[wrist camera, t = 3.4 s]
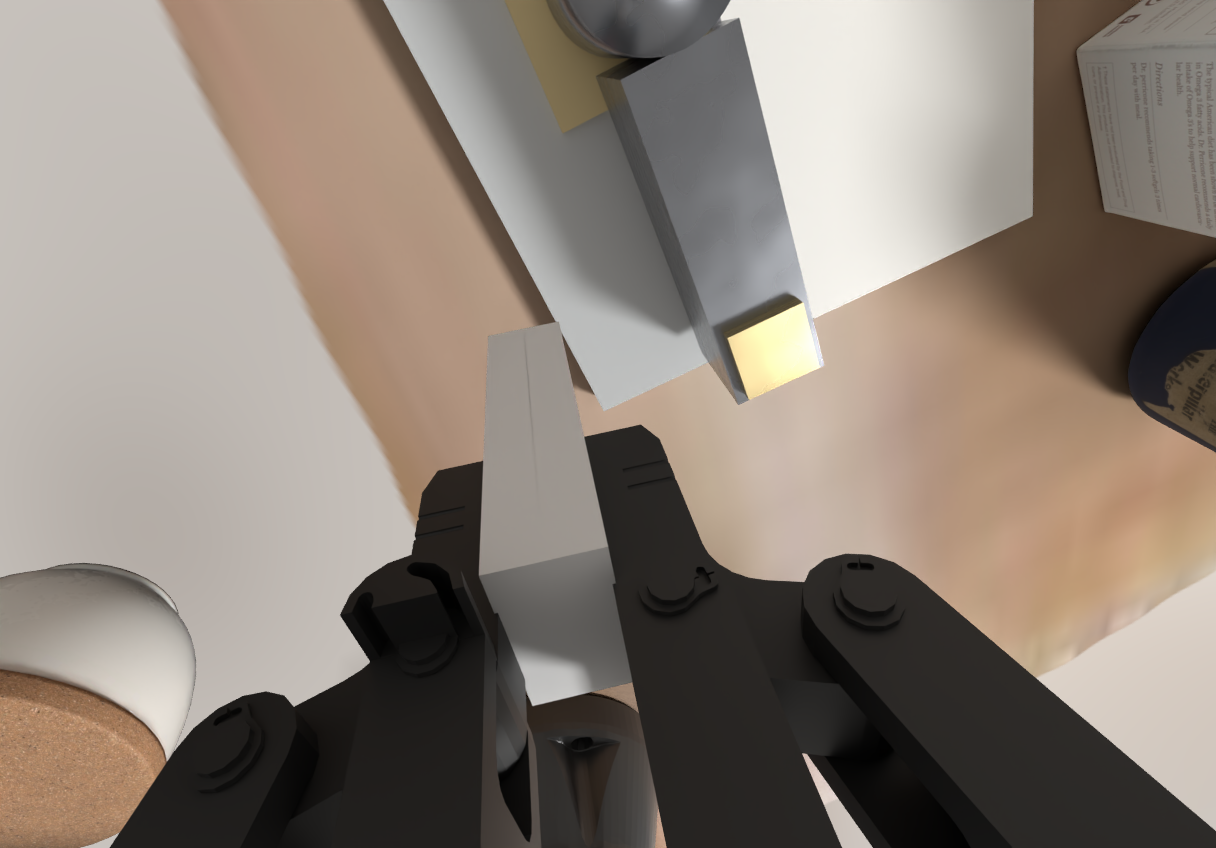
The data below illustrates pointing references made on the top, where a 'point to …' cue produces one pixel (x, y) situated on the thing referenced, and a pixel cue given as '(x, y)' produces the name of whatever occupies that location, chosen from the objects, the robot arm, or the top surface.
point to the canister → (1180, 361)
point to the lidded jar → (86, 700)
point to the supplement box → (1155, 112)
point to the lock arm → (705, 179)
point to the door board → (800, 142)
